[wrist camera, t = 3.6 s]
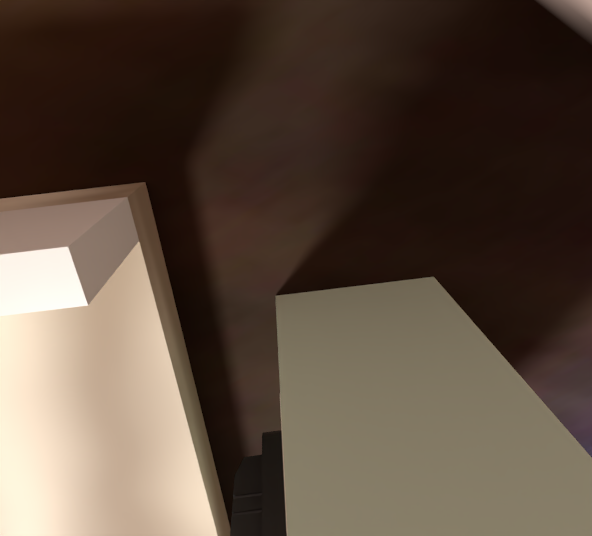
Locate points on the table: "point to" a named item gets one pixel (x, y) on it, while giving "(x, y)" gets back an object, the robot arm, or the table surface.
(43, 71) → the table surface
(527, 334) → the table surface
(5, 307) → the shelf board
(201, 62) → the table surface
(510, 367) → the carton
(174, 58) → the table surface
